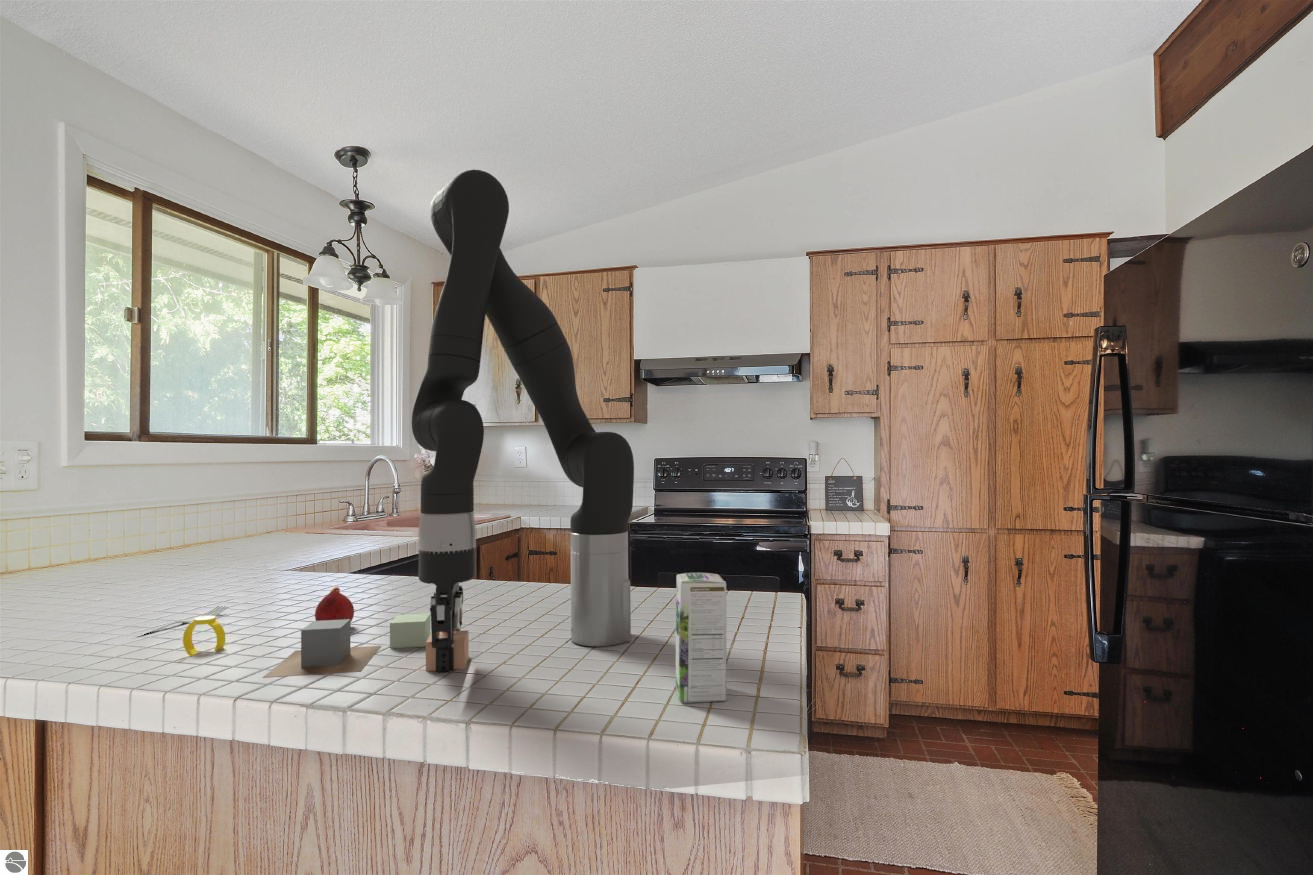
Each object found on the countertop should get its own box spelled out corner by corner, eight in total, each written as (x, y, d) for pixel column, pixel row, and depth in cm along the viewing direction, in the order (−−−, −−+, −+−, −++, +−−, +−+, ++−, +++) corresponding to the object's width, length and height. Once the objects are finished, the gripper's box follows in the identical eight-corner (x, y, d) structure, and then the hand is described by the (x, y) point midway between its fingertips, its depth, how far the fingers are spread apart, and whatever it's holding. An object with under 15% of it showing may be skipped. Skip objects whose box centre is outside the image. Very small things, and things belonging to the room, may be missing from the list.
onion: (338, 641, 107) (338, 591, 107) (306, 640, 108) (306, 590, 109) (361, 632, 113) (361, 584, 113) (330, 630, 114) (331, 583, 114)
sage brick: (430, 645, 105) (430, 613, 105) (424, 654, 100) (424, 621, 100) (396, 647, 104) (396, 614, 104) (389, 656, 99) (389, 623, 100)
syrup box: (674, 687, 85) (673, 572, 86) (720, 685, 86) (719, 571, 86) (679, 703, 79) (678, 581, 80) (729, 701, 80) (727, 580, 80)
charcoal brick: (350, 653, 97) (350, 619, 97) (340, 664, 92) (340, 627, 92) (313, 656, 96) (313, 620, 96) (301, 666, 91) (301, 629, 91)
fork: (81, 651, 105) (81, 639, 105) (217, 614, 128) (217, 605, 128) (96, 652, 104) (96, 641, 104) (230, 615, 127) (230, 606, 128)
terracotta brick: (468, 665, 95) (468, 630, 95) (464, 677, 90) (464, 639, 90) (431, 668, 94) (431, 632, 94) (425, 679, 89) (425, 642, 89)
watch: (228, 656, 101) (231, 617, 101) (213, 662, 98) (216, 621, 98) (192, 652, 102) (195, 613, 102) (177, 658, 99) (180, 617, 99)
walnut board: (381, 653, 101) (381, 645, 101) (360, 680, 89) (360, 671, 89) (295, 658, 99) (295, 650, 99) (262, 686, 87) (262, 677, 87)
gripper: (470, 551, 86) (470, 685, 85) (480, 538, 100) (480, 652, 99) (409, 553, 84) (408, 689, 84) (427, 539, 99) (427, 655, 98)
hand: (447, 668), depth 92 cm, fingers closed on terracotta brick, 5 cm apart
